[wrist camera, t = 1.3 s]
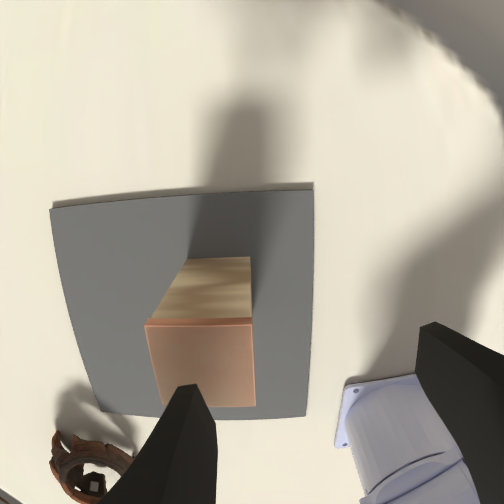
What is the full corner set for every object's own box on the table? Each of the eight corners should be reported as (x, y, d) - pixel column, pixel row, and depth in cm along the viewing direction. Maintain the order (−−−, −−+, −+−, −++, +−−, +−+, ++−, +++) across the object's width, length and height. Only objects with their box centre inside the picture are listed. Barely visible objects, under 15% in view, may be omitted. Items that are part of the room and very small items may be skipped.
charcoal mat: (312, 189, 20) (313, 190, 19) (304, 413, 24) (305, 416, 24) (52, 208, 20) (49, 209, 19) (102, 408, 24) (101, 411, 24)
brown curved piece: (43, 406, 26) (37, 449, 18) (125, 406, 30) (139, 448, 23) (64, 485, 26) (68, 531, 18) (135, 483, 30) (152, 527, 23)
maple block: (250, 255, 20) (252, 324, 12) (253, 314, 21) (255, 406, 13) (186, 258, 20) (144, 325, 12) (192, 316, 21) (162, 404, 13)
